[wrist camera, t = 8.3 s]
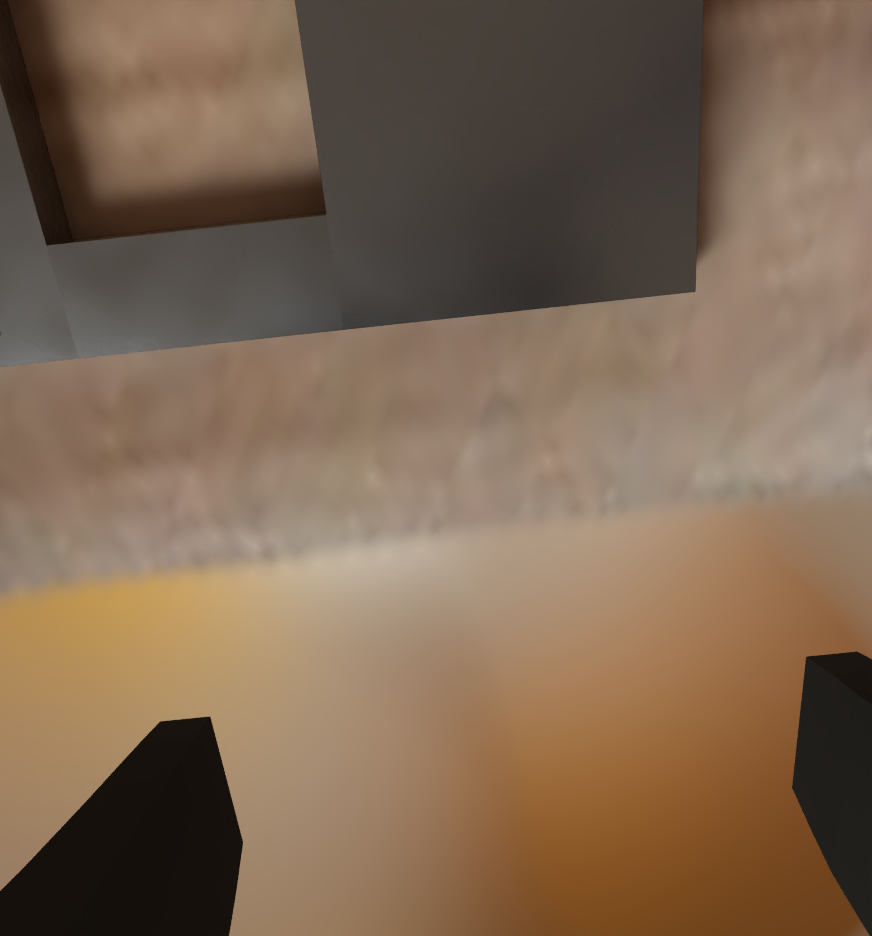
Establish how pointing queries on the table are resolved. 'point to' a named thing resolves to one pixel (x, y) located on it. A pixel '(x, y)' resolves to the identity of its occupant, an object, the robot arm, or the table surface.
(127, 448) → the table surface
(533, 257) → the bracket
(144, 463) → the table surface
